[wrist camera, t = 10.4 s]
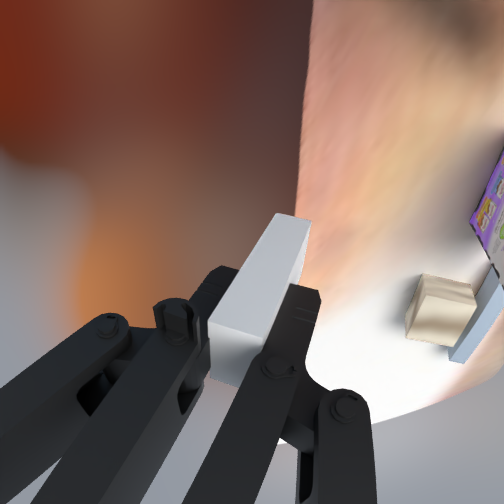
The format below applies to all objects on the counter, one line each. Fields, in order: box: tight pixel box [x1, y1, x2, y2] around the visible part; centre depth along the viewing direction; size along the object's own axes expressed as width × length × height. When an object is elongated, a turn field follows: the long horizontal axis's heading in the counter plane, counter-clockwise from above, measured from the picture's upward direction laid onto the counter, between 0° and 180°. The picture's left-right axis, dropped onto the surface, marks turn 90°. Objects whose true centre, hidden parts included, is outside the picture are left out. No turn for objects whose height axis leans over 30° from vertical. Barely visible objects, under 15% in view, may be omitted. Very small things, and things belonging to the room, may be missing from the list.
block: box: [405, 274, 477, 347], centre depth 39 cm, size 8×8×5 cm
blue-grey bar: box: [447, 266, 504, 364], centre depth 37 cm, size 17×3×4 cm, turn 175°
